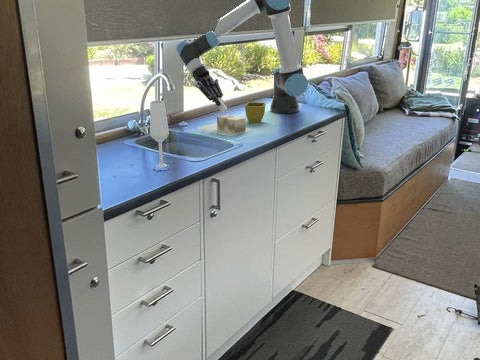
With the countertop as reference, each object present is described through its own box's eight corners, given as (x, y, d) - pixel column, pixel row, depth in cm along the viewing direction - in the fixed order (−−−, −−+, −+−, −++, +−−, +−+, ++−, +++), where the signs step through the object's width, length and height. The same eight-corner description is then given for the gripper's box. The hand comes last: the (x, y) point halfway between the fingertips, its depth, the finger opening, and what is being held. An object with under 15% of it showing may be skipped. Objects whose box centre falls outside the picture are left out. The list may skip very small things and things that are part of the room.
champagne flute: (148, 168, 180) (143, 102, 172) (162, 164, 185) (158, 99, 177) (161, 172, 176) (156, 104, 168) (175, 167, 181) (171, 101, 173)
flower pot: (262, 124, 240) (262, 106, 237) (244, 124, 242) (244, 105, 239) (265, 120, 248) (265, 102, 245) (248, 120, 250) (248, 102, 247)
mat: (196, 129, 233) (196, 128, 233) (220, 123, 244) (220, 122, 244) (230, 137, 219) (230, 136, 218) (254, 130, 230) (254, 129, 229)
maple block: (217, 116, 228) (236, 120, 220) (226, 114, 232) (245, 118, 225) (217, 129, 230) (236, 133, 223) (226, 126, 234) (245, 131, 227)
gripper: (205, 74, 240) (230, 113, 235) (184, 77, 231) (210, 118, 226) (212, 63, 235) (238, 103, 230) (191, 66, 226) (218, 107, 221)
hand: (224, 110), depth 228 cm, fingers closed
